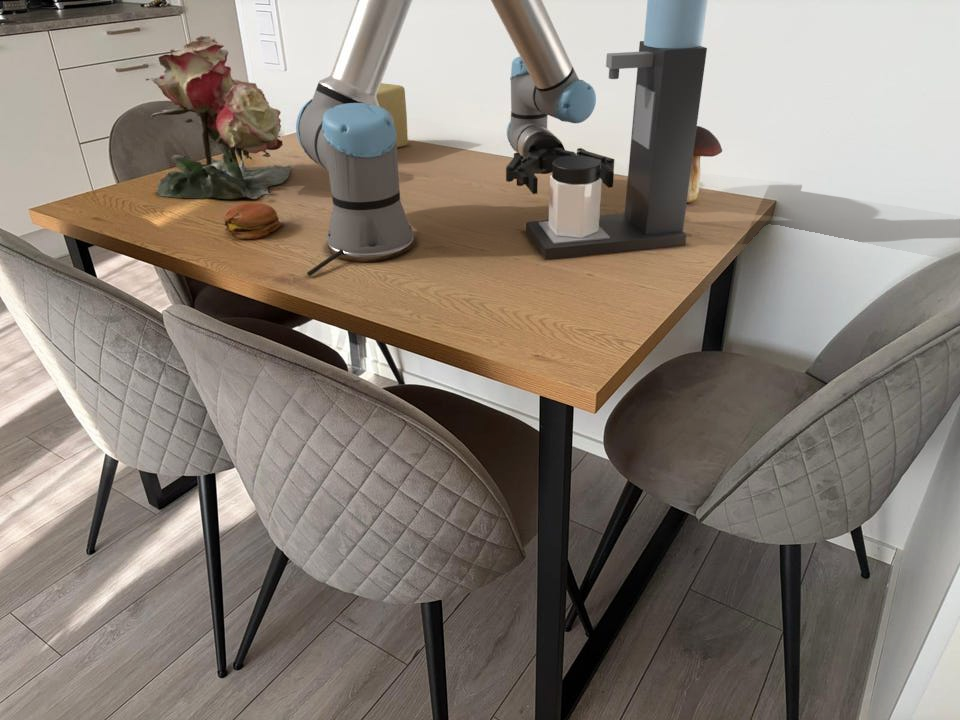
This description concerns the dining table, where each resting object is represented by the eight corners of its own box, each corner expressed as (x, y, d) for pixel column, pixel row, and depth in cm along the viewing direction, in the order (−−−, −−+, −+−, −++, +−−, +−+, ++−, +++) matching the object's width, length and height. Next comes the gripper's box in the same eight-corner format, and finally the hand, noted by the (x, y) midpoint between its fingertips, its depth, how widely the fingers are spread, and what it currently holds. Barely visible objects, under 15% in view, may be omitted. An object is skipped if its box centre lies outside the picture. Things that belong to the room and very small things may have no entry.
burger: (284, 221, 142) (280, 198, 140) (273, 239, 134) (268, 215, 132) (234, 222, 142) (229, 199, 140) (219, 240, 134) (214, 216, 132)
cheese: (351, 167, 172) (343, 101, 164) (321, 161, 176) (312, 97, 169) (410, 145, 187) (406, 84, 179) (381, 140, 192) (376, 80, 184)
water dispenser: (544, 259, 124) (553, -43, 101) (525, 232, 135) (529, -47, 111) (690, 244, 128) (731, -49, 105) (660, 219, 139) (691, -52, 116)
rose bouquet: (275, 202, 152) (248, 46, 136) (145, 197, 156) (105, 46, 140) (317, 166, 173) (299, 28, 158) (202, 163, 177) (173, 28, 162)
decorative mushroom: (718, 197, 149) (729, 121, 141) (708, 214, 141) (720, 135, 133) (664, 190, 153) (673, 117, 145) (652, 207, 145) (660, 130, 137)
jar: (604, 236, 126) (609, 167, 120) (559, 240, 125) (561, 171, 119) (586, 218, 134) (590, 152, 128) (544, 222, 132) (545, 156, 126)
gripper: (600, 164, 147) (640, 198, 130) (479, 173, 144) (503, 210, 126) (603, 126, 144) (644, 156, 126) (478, 135, 140) (502, 167, 122)
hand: (573, 183), depth 126 cm, fingers open, 13 cm apart
